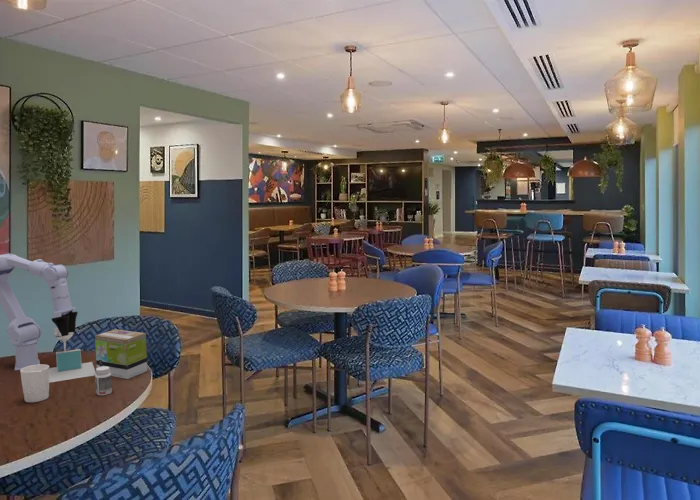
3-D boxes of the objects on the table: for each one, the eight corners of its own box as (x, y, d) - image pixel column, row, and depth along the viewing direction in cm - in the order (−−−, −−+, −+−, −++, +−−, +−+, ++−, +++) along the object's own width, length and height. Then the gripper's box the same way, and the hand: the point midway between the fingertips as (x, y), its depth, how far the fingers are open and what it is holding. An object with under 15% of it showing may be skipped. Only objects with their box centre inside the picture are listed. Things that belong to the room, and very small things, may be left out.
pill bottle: (115, 391, 175) (114, 366, 174) (104, 396, 171) (103, 371, 170) (104, 389, 177) (102, 365, 176) (92, 394, 172) (91, 369, 171)
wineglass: (69, 359, 210) (67, 329, 209) (52, 359, 210) (50, 329, 209) (78, 354, 217) (76, 325, 216) (61, 354, 217) (59, 325, 216)
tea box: (95, 374, 192) (93, 334, 190) (117, 366, 201) (115, 328, 200) (127, 380, 186) (125, 338, 185) (148, 371, 195) (146, 331, 194)
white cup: (56, 396, 171) (54, 366, 170) (33, 405, 164) (30, 373, 163) (40, 392, 174) (38, 363, 173) (16, 401, 167) (14, 370, 166)
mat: (44, 369, 198) (44, 368, 198) (92, 362, 206) (91, 361, 206) (45, 384, 182) (45, 383, 182) (96, 375, 191) (96, 375, 191)
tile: (57, 371, 195) (55, 352, 195) (81, 367, 199) (80, 349, 199) (57, 372, 194) (56, 353, 193) (81, 368, 198) (80, 350, 197)
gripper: (66, 297, 189) (74, 334, 189) (78, 293, 203) (86, 328, 204) (44, 301, 187) (52, 339, 188) (59, 297, 202) (66, 332, 202)
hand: (68, 333), depth 196 cm, fingers open, 7 cm apart
